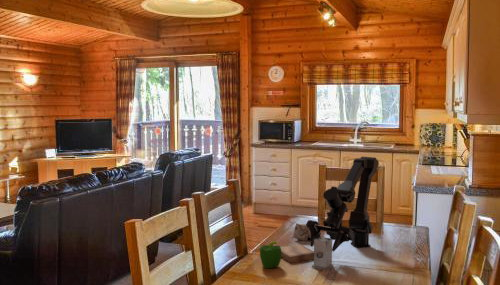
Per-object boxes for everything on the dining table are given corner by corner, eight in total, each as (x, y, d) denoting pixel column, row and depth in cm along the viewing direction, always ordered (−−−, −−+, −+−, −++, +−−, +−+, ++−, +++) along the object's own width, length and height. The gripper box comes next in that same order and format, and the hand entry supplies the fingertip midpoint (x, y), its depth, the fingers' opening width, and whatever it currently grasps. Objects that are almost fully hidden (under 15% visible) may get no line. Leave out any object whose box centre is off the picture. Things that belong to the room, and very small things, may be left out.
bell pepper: (255, 267, 188) (255, 242, 187) (266, 261, 195) (266, 236, 194) (273, 272, 184) (274, 246, 182) (285, 265, 190) (285, 240, 189)
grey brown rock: (319, 241, 229) (316, 245, 219) (296, 234, 232) (292, 237, 222) (323, 228, 229) (320, 230, 219) (299, 221, 232) (296, 223, 222)
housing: (319, 263, 193) (320, 236, 192) (333, 266, 189) (334, 238, 188) (312, 267, 188) (312, 239, 187) (325, 271, 184) (326, 242, 183)
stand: (300, 249, 209) (300, 243, 209) (315, 258, 198) (315, 252, 198) (275, 253, 204) (275, 247, 204) (289, 262, 193) (289, 256, 193)
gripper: (363, 229, 194) (350, 264, 187) (322, 222, 206) (308, 254, 198) (355, 214, 187) (341, 249, 180) (312, 207, 199) (298, 239, 191)
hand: (321, 248), depth 187 cm, fingers open, 9 cm apart
